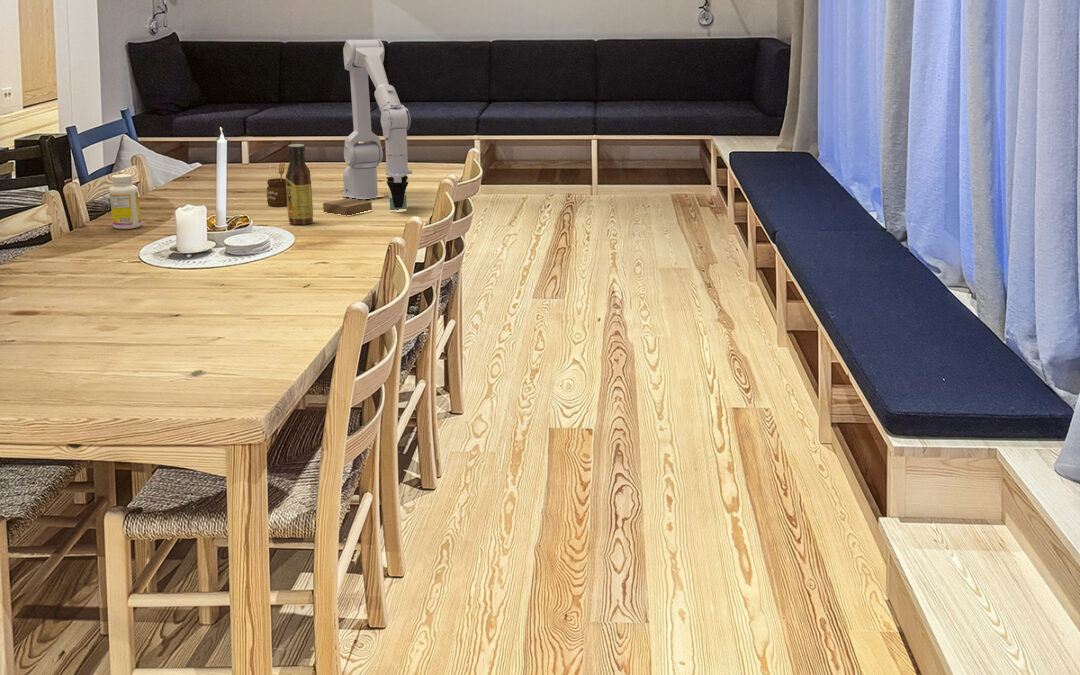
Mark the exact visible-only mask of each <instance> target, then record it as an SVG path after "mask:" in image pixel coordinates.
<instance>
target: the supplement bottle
mask: <svg viewBox="0 0 1080 675" xmlns="http://www.w3.org/2000/svg"><path fill="white" fill-rule="evenodd" d="M111 182H112V183H113V185H112V186H110V187H109V189H108V192H109V193H108V194H109V201H110V208H111V210H110V211H111V218H112V226H113V227H114V229H118V230H131V229H136V228H139V227H141V225H142V218H141V208H140V201H139V189H138V187H137V186H136V185H135V184H133V183H132V182H133V175H132V174H127V173H124V174H114V175H111Z"/></svg>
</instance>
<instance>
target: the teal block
mask: <svg viewBox="0 0 1080 675" xmlns="http://www.w3.org/2000/svg"><path fill="white" fill-rule="evenodd" d="M388 197H389V211H390V210H399V209H407V210H408V202H407V201H408V200H407V194H404V201H403V207H402V208H395V207H394V204H393V199H392V194H389V196H388Z"/></svg>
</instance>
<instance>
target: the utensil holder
mask: <svg viewBox="0 0 1080 675" xmlns="http://www.w3.org/2000/svg"><path fill="white" fill-rule="evenodd" d="M285 165H286V163H285V162H280V163H279V168H278V167H277V165H275V164H271V165H269V166H268V167H269V169H268V170H271V166H275V168H274V169H273V170H271V171H268V173H269V175H270V176H271V175H272V174H273V173H274V172H276V177H275V176H274V175H272V176H271V178H269V179H268V180H267V188H266V200H267V205H268V206H269V207H272V208H273V207H274V208H280V207H281V208H283V207H286V206H287V193H286V178H283V175H284V174H285V167H286V166H285ZM273 171H274V172H273ZM279 175H280V176H279ZM278 176H279V177H280V178H279V177H278ZM274 177H275V178H274Z"/></svg>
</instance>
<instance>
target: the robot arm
mask: <svg viewBox="0 0 1080 675" xmlns="http://www.w3.org/2000/svg"><path fill="white" fill-rule="evenodd" d="M342 49H343V50H342V51H343V54H342V55H343V64H344V70H345V71H347V72H348V71H349V79H350V94H351V95H350V96H351V109H352V123H353V131H352V132H351V133H350V134H349V135H348V136H347V137H346V138H345V139H344V148H343V157H344V162H345V163H346V164H347V166H346V167H345V169H344V171H343V195H341V197H342V196H343V197H342V198H346V197H349V198H350V199H352V198H357V199H356V200H358V199H369V198H374V197H376V196H378V194H379V193H378V167H379V165H380V164H381V163H382V161H383V159H384V158H383V157H384V154H383V153H384V152H383V148H382V144H381V138H380V137H379V136H378V135H377V134H375V133H374V132H373V131H372V118H371V117H372V116H371V106H370V105H371V104H370V100H371V99H370V89H369V88H370V87H369V77H370V79H371V81H372V83H373V85H374V87H375V91H374V93H373V95H374V98H375V101H376V103H377V105H378V109H379V111H380V113H381V115H380V125H381V128H382V135H383V138H384V139H385V140H384V141H385V146H384V147H385V167H386V168H385V175H386V176H387V177H386V179H387V181H386V184H387V186H388V188H389V191H390V195H392V199H393V204H394V207H395V208H402V207H403V201H404V195H406V194H405V193H406V190H407V187H408V185H409V181H407V180H408V179H409V176H408V175H413V170H412V169H411V170H410V169H409V166H408V163H409V162H408V160H409V159H408V133H407V132H408V130H409V129H410V126H411V115H410V112H409V109H408V108H407V107H405V105H404V104H402V103H401V102H400V99H399V96H398V93H397V91H396V89H395V87H394V86H393V85H391V84H389V80H388V78H387V74H386V73H387V72H386V71H385V67H384V59H385V46H384V43H383V41H382V40H381V39H379V38H376V39H347V40H346V41H345V43H344V46H343V48H342Z"/></svg>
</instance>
